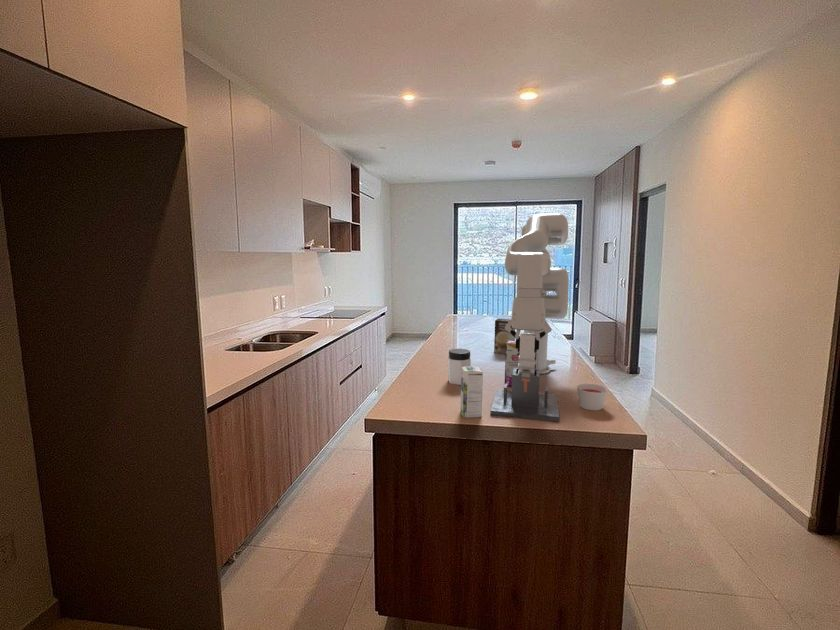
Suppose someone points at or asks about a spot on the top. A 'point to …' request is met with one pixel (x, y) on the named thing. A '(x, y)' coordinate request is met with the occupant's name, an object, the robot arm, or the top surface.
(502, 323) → the coffee box
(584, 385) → the candle
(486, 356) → the top surface
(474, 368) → the syrup box
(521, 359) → the column
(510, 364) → the candy bar box
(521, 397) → the stand base
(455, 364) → the jar
